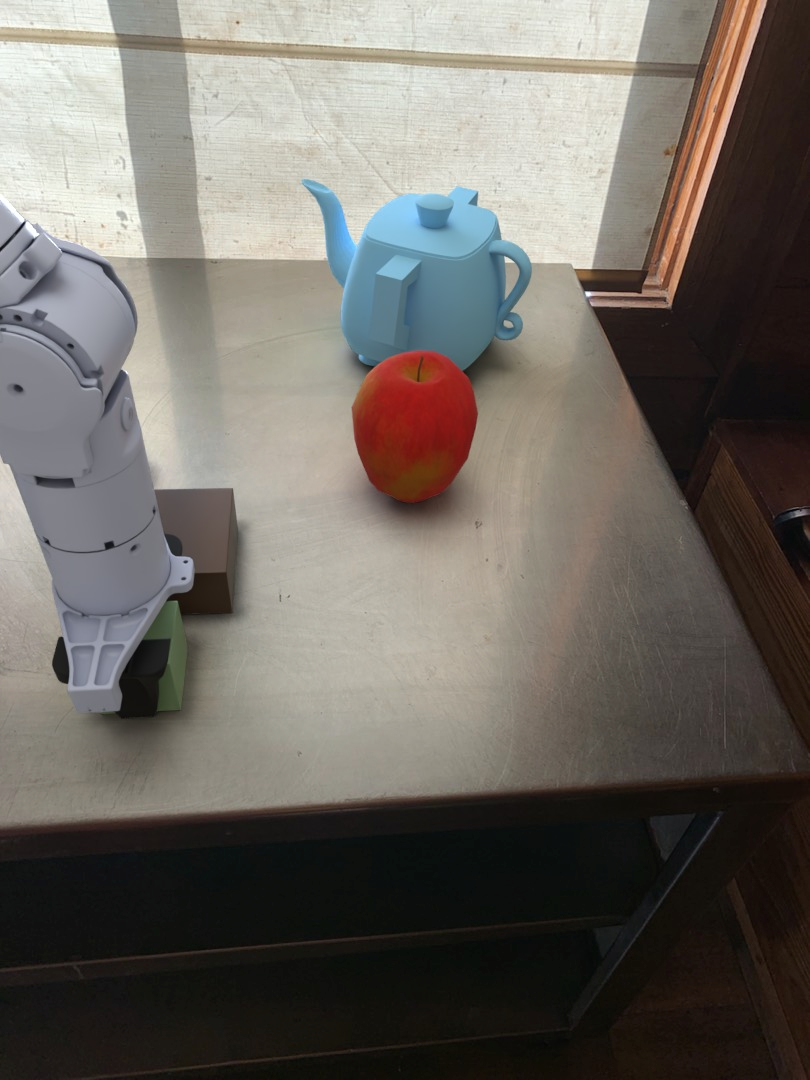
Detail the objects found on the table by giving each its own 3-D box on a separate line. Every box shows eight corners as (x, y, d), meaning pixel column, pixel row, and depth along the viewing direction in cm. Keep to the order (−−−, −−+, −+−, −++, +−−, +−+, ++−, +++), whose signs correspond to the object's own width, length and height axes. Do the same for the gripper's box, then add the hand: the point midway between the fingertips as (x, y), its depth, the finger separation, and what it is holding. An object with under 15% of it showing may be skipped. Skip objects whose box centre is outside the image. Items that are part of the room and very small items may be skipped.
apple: (394, 437, 66) (402, 307, 58) (487, 480, 63) (511, 349, 55) (326, 496, 61) (325, 361, 52) (425, 546, 57) (441, 411, 49)
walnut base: (106, 618, 51) (93, 576, 48) (124, 531, 57) (113, 489, 54) (232, 613, 52) (226, 572, 49) (238, 528, 58) (233, 487, 55)
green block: (100, 714, 46) (82, 668, 43) (112, 651, 49) (97, 603, 46) (181, 710, 47) (169, 664, 43) (188, 647, 50) (177, 600, 47)
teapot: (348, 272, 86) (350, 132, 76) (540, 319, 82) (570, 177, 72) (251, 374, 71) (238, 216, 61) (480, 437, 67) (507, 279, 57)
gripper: (164, 625, 33) (202, 782, 43) (193, 419, 43) (219, 583, 53) (-12, 632, 33) (67, 790, 42) (59, 420, 43) (110, 586, 52)
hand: (144, 675), depth 48 cm, fingers closed on green block, 5 cm apart
